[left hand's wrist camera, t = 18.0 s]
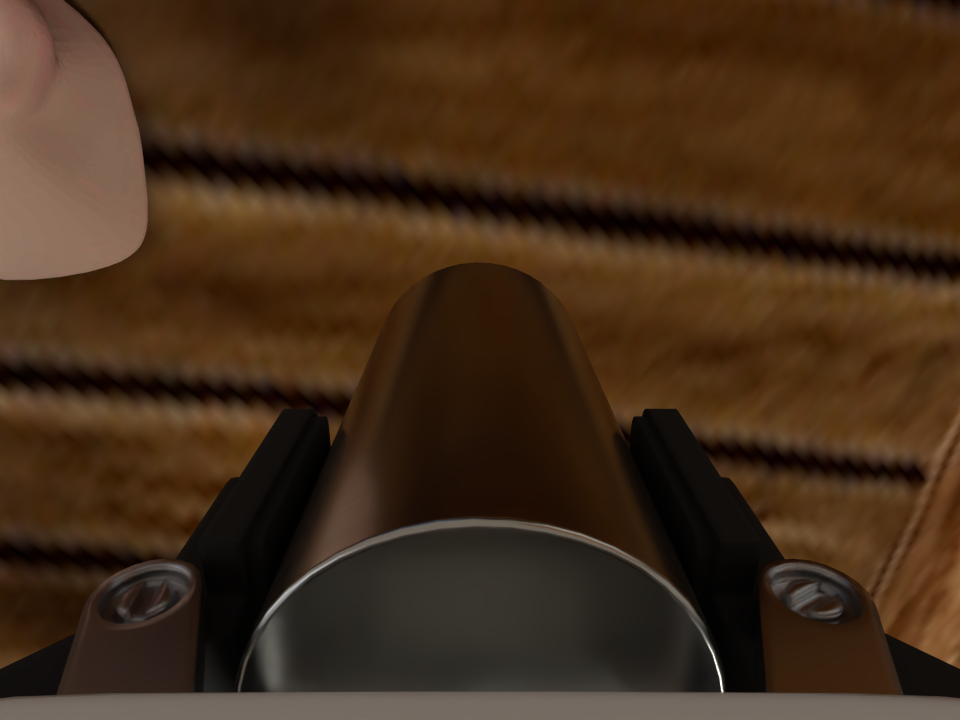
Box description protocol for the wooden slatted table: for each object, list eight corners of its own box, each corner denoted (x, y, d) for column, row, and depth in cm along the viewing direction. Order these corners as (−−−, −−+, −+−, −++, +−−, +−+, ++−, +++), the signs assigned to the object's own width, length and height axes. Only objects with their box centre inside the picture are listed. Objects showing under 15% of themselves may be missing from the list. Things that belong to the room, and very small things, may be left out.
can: (598, 422, 18) (761, 840, 8) (415, 470, 19) (337, 922, 8) (551, 236, 16) (682, 459, 6) (348, 295, 17) (142, 596, 6)
